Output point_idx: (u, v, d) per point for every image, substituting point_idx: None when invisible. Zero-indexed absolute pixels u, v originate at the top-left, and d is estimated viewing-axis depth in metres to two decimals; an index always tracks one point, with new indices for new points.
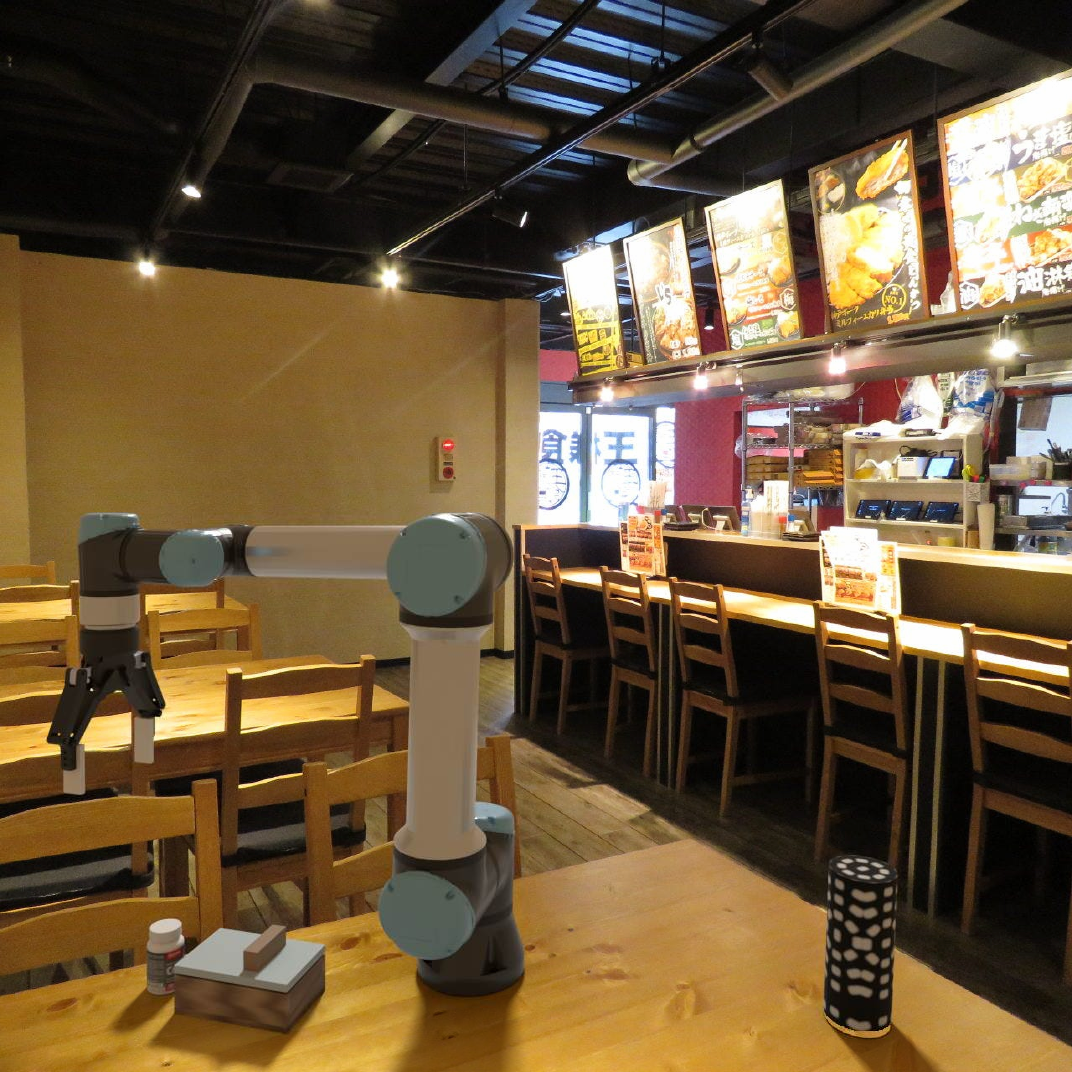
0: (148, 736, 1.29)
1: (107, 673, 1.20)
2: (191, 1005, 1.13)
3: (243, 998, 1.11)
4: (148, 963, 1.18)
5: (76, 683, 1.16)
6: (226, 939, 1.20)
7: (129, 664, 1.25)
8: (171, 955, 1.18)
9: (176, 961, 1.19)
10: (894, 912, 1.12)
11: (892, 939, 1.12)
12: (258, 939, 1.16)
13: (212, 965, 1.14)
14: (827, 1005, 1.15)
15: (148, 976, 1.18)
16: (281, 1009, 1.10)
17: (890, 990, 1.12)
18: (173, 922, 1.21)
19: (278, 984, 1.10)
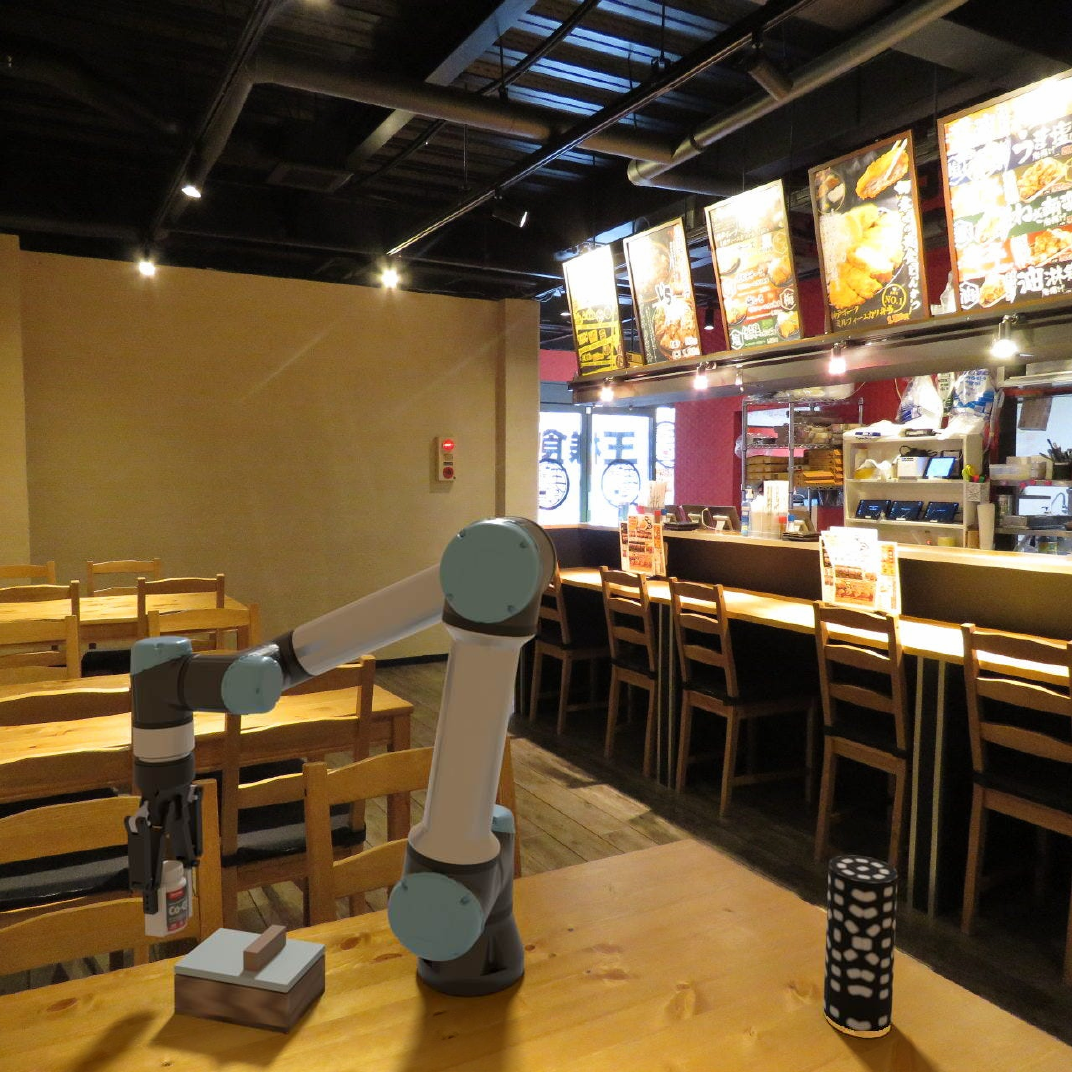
0: None
1: (164, 808, 1.16)
2: (191, 1005, 1.13)
3: (243, 998, 1.11)
4: None
5: (138, 832, 1.13)
6: (226, 939, 1.20)
7: (184, 789, 1.21)
8: (173, 895, 1.17)
9: (178, 901, 1.18)
10: (894, 912, 1.12)
11: (892, 939, 1.12)
12: (258, 939, 1.16)
13: (212, 965, 1.14)
14: (827, 1005, 1.15)
15: None
16: (281, 1009, 1.10)
17: (890, 990, 1.12)
18: (174, 863, 1.20)
19: (278, 984, 1.10)
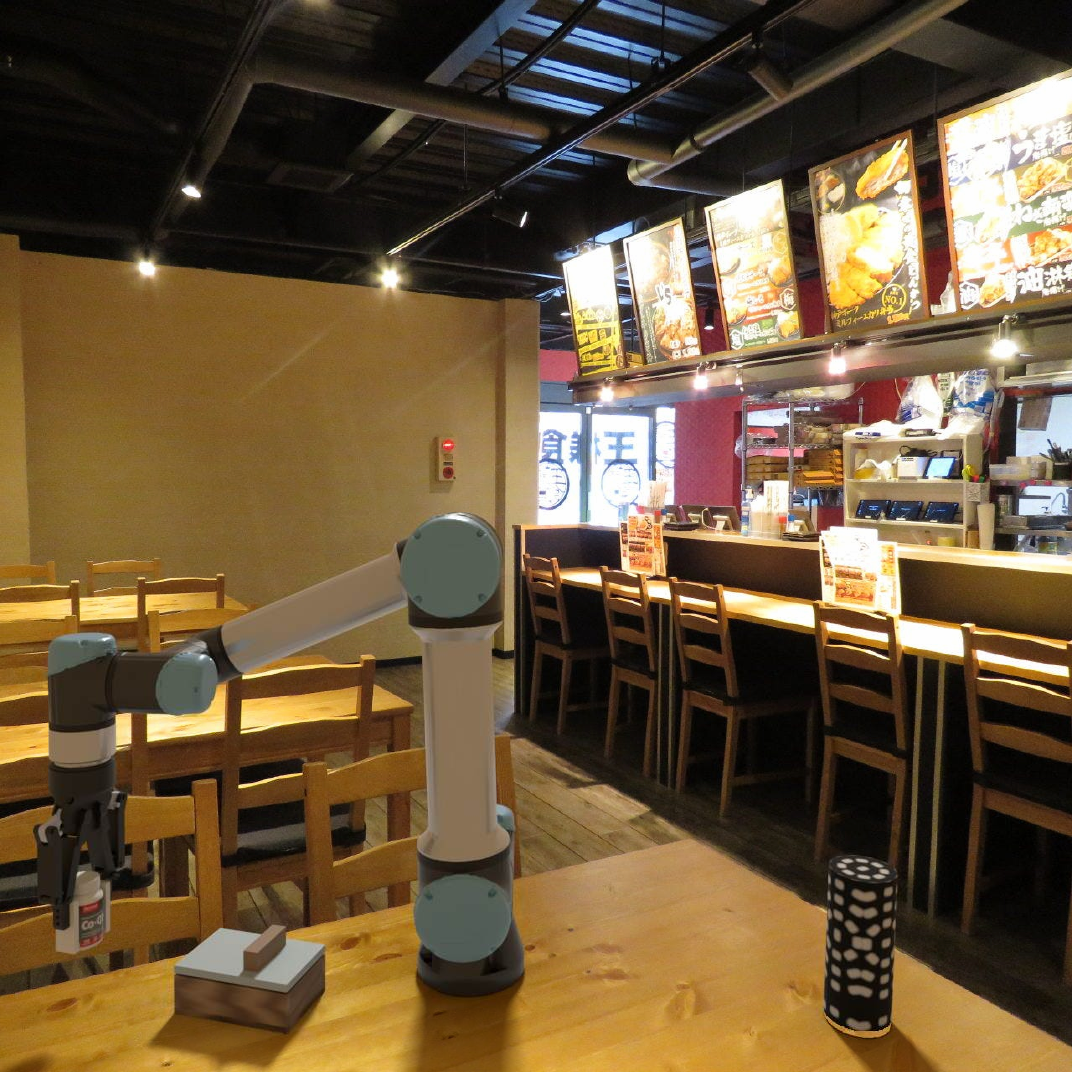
0: (104, 902, 1.14)
1: (79, 817, 1.09)
2: (191, 1005, 1.13)
3: (243, 998, 1.11)
4: None
5: (49, 842, 1.05)
6: (226, 939, 1.20)
7: (104, 797, 1.13)
8: (86, 909, 1.10)
9: (93, 915, 1.11)
10: (894, 912, 1.12)
11: (892, 939, 1.12)
12: (258, 939, 1.16)
13: (212, 965, 1.14)
14: (827, 1005, 1.15)
15: None
16: (281, 1009, 1.10)
17: (890, 990, 1.12)
18: (91, 874, 1.13)
19: (278, 984, 1.10)
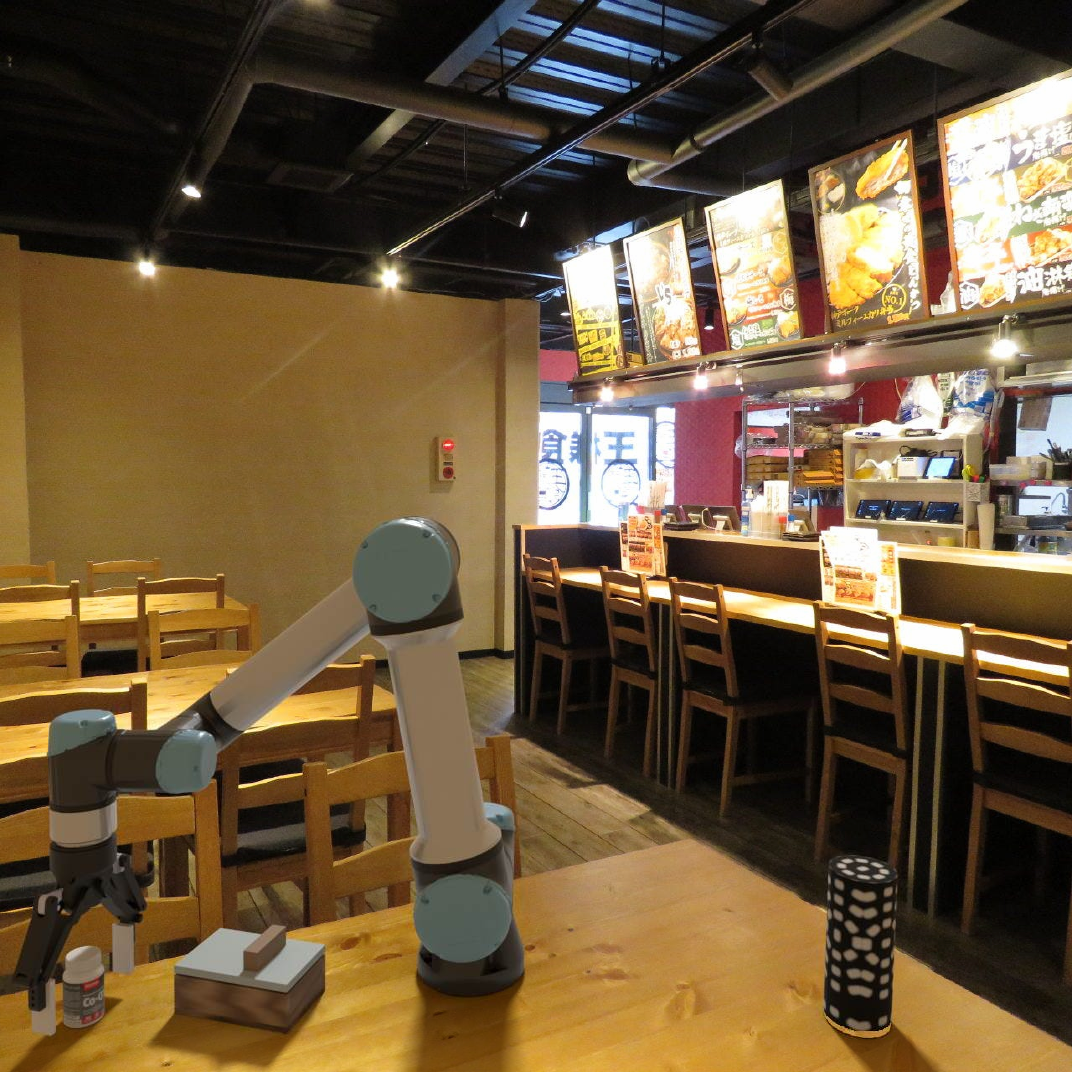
0: (127, 945, 1.18)
1: (80, 893, 1.09)
2: (191, 1005, 1.13)
3: (243, 998, 1.11)
4: (64, 994, 1.11)
5: (45, 913, 1.05)
6: (226, 939, 1.20)
7: (105, 874, 1.14)
8: (88, 986, 1.11)
9: (94, 992, 1.11)
10: (894, 912, 1.12)
11: (892, 939, 1.12)
12: (258, 939, 1.16)
13: (212, 965, 1.14)
14: (827, 1005, 1.15)
15: (64, 1008, 1.11)
16: (281, 1009, 1.10)
17: (890, 990, 1.12)
18: (92, 949, 1.13)
19: (278, 984, 1.10)
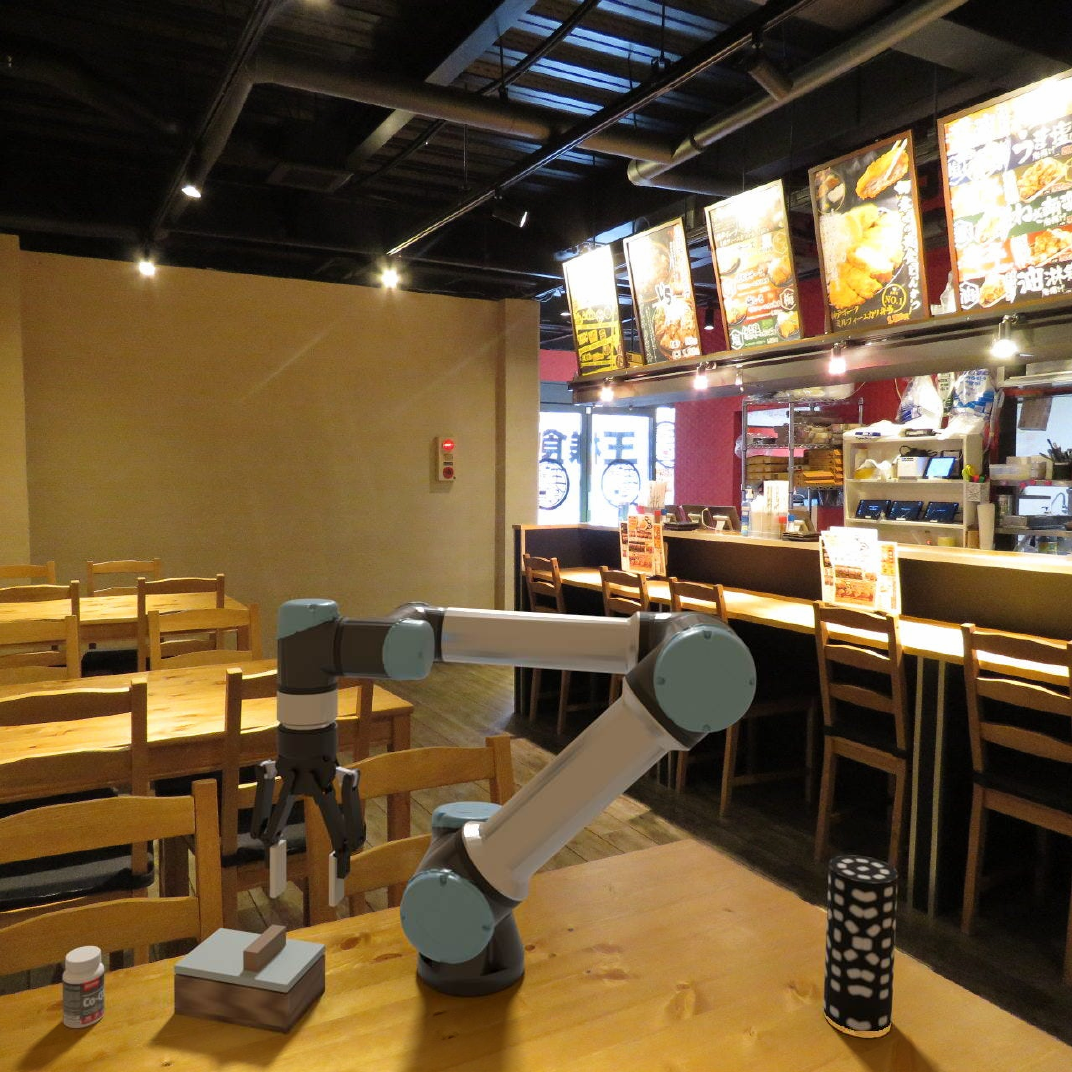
0: None
1: None
2: (191, 1005, 1.13)
3: (243, 998, 1.11)
4: (64, 994, 1.11)
5: None
6: (226, 939, 1.20)
7: (320, 770, 1.11)
8: (88, 986, 1.11)
9: (94, 992, 1.11)
10: (894, 912, 1.12)
11: (892, 939, 1.12)
12: (258, 939, 1.16)
13: (212, 965, 1.14)
14: (827, 1005, 1.15)
15: (64, 1008, 1.11)
16: (281, 1009, 1.10)
17: (890, 990, 1.12)
18: (92, 949, 1.13)
19: (278, 984, 1.10)
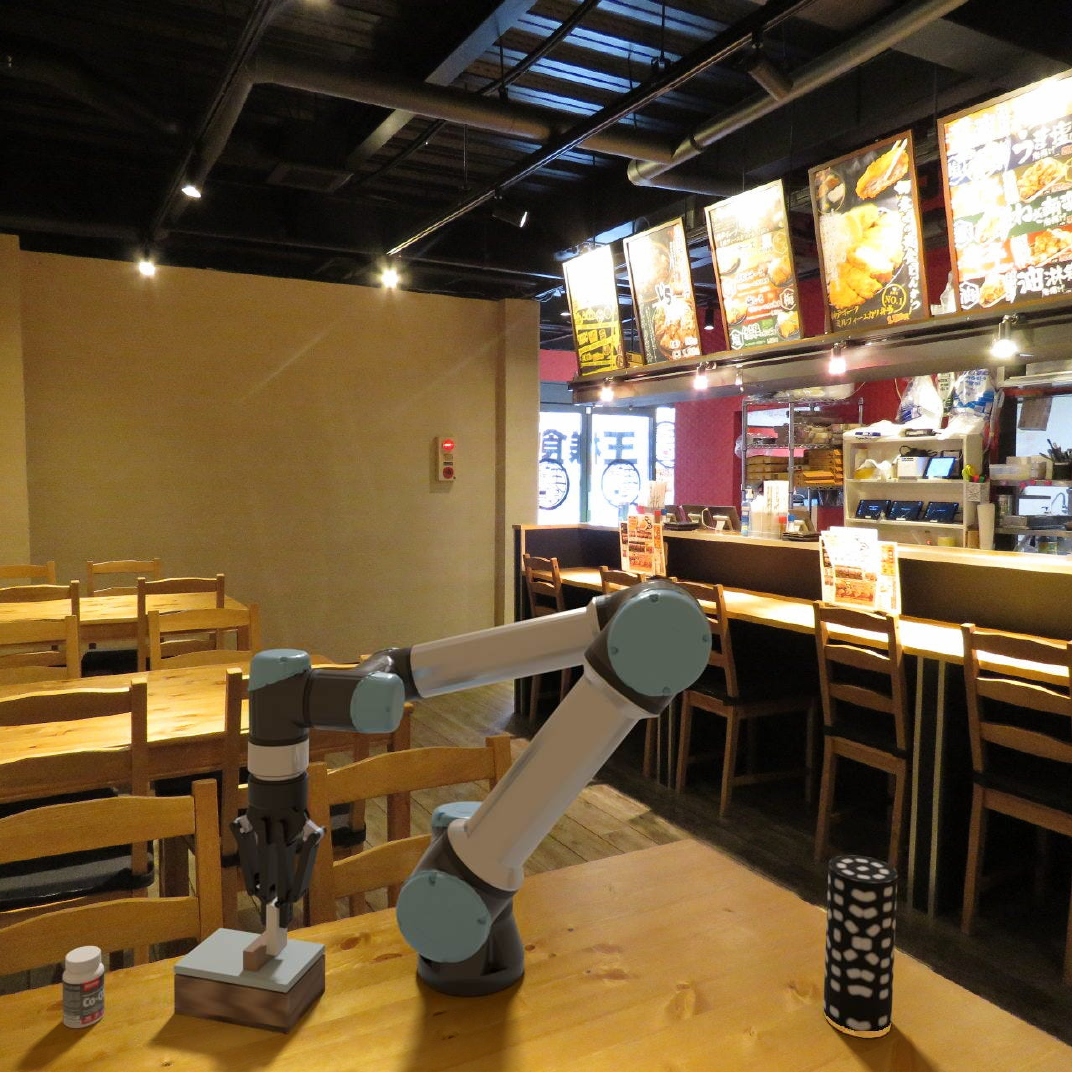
0: None
1: None
2: (191, 1005, 1.13)
3: (243, 998, 1.11)
4: (64, 994, 1.11)
5: None
6: (226, 939, 1.20)
7: (291, 818, 1.13)
8: (88, 986, 1.11)
9: (94, 992, 1.11)
10: (894, 912, 1.12)
11: (892, 939, 1.12)
12: (258, 939, 1.16)
13: (212, 965, 1.14)
14: (827, 1005, 1.15)
15: (64, 1008, 1.11)
16: (281, 1009, 1.10)
17: (890, 990, 1.12)
18: (92, 949, 1.13)
19: (277, 984, 1.10)
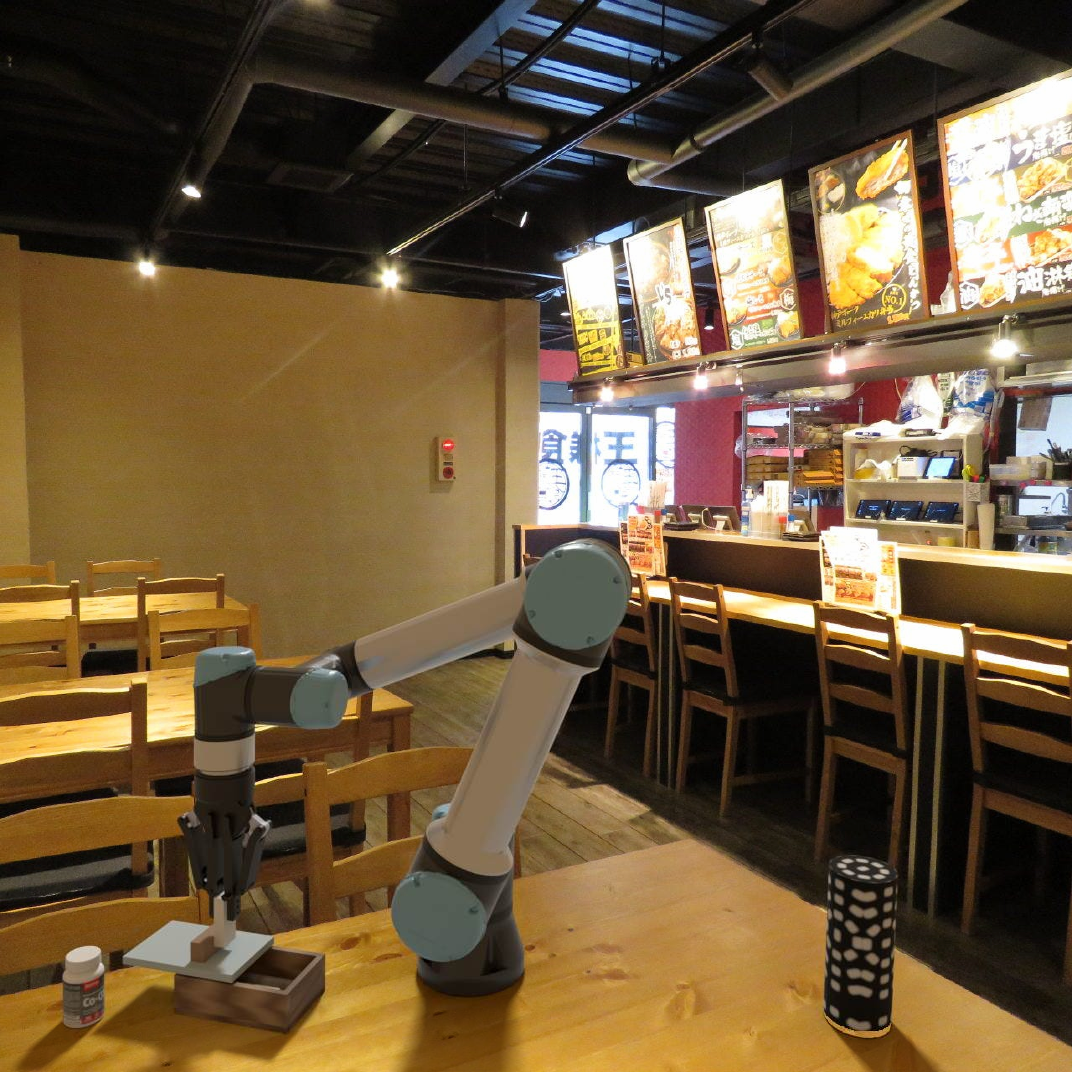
0: None
1: None
2: (191, 1005, 1.13)
3: (243, 998, 1.11)
4: (64, 994, 1.11)
5: None
6: (177, 931, 1.22)
7: (237, 812, 1.15)
8: (88, 986, 1.11)
9: (94, 992, 1.11)
10: (894, 912, 1.12)
11: (892, 939, 1.12)
12: (206, 930, 1.18)
13: (160, 956, 1.16)
14: (827, 1005, 1.15)
15: (64, 1008, 1.11)
16: (281, 1009, 1.10)
17: (890, 990, 1.12)
18: (92, 949, 1.13)
19: (223, 974, 1.12)
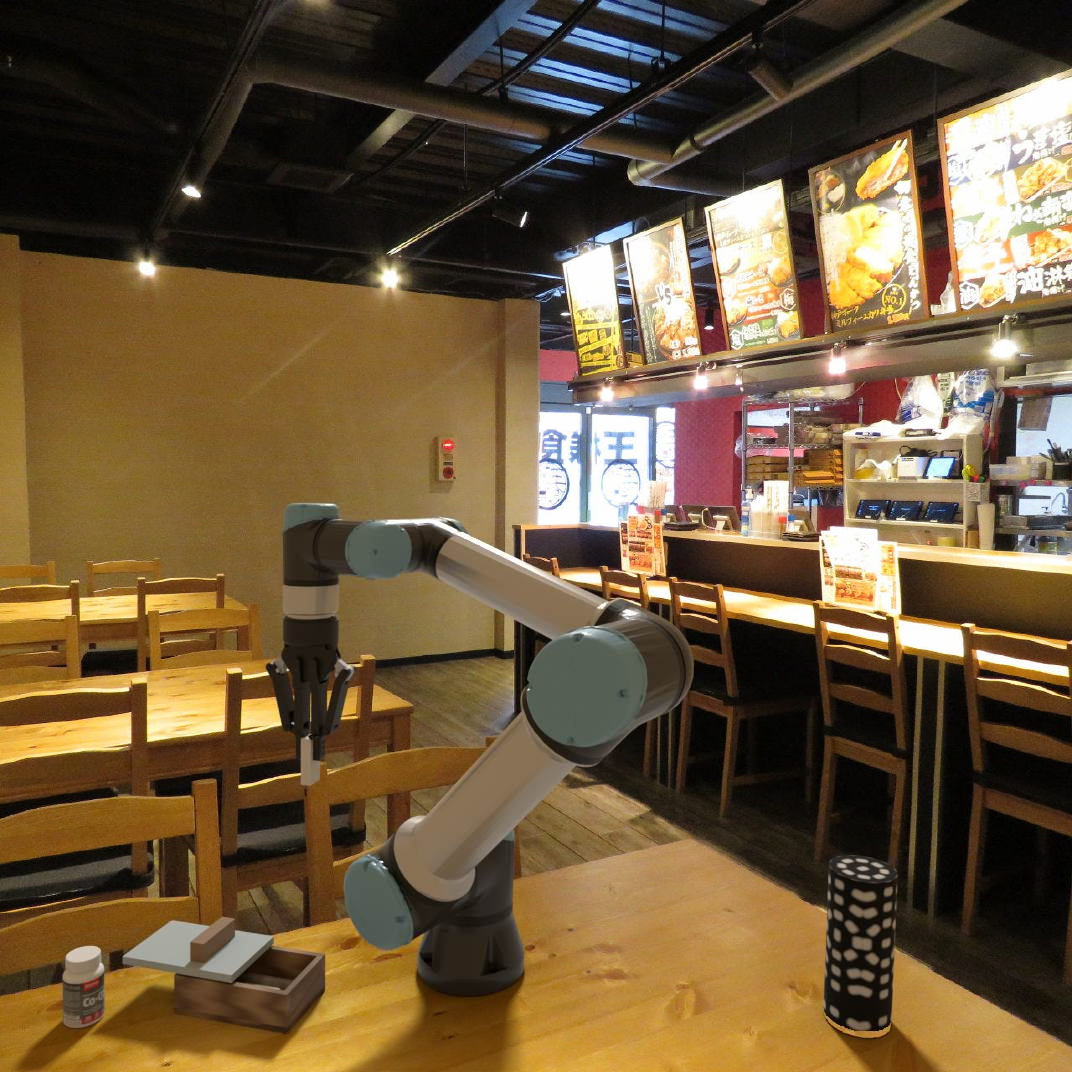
0: None
1: None
2: (191, 1005, 1.13)
3: (243, 998, 1.11)
4: (64, 994, 1.11)
5: None
6: (176, 931, 1.22)
7: (323, 656, 1.22)
8: (88, 986, 1.11)
9: (94, 992, 1.11)
10: (894, 912, 1.12)
11: (892, 939, 1.12)
12: (206, 930, 1.18)
13: (160, 956, 1.16)
14: (827, 1005, 1.15)
15: (64, 1008, 1.11)
16: (281, 1009, 1.10)
17: (890, 990, 1.12)
18: (92, 949, 1.13)
19: (223, 974, 1.12)
